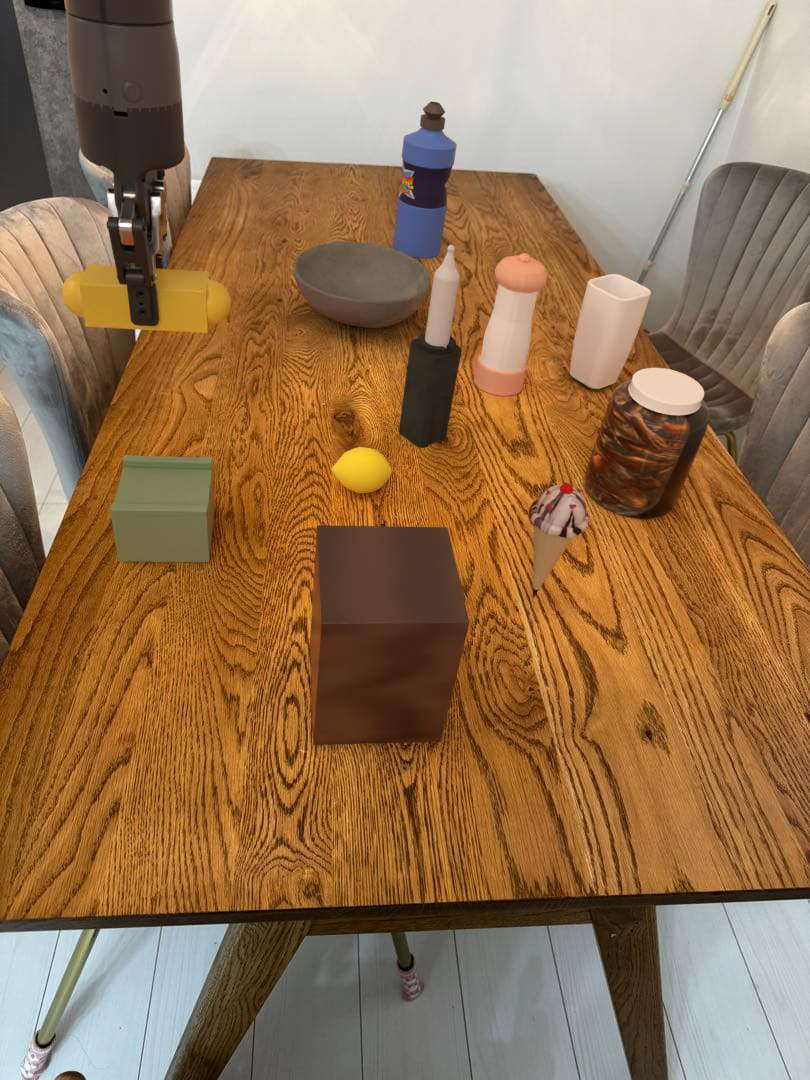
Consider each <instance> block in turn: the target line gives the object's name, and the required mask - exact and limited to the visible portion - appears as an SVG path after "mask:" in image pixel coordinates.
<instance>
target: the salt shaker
mask: <svg viewBox="0 0 810 1080" xmlns="http://www.w3.org/2000/svg"><path fill="white" fill-rule="evenodd" d="M494 277H495V280H496V282H497V289H496V294H495V300H494V304H493V309H492V312H491V314H490V317H489V320H488V323H487V326H486V328H485V331H484V334H483V340H482V345H481V352H480V354H478V356H477V360H476V365H475V370H474V375H473V380H472V381H473V383H474V385H475V386H476V387H477V388H478V389H479V390H482V391H483V392H484V393H488V394H490V395H494V396H499V397H502V396H503V397H508V396H515V395H517V394H519V393H520V392H521V391H522V390H523V387H524V383H525V378H526V374H527V370H528V363H527V358H528V356H529V351H530V348H531V341H532V326H533V316H534V312H535V307H536V303H537V298H538V294H539V291H541V290H542V289H543V288H544V286H546V284H547V282H548V272H547V269H546V266H544V264H543V263H542V262H540V261H539V260H537V259H535V258H533V257H531V255H530V254H529V253H526V252H524V253H520V254H518V255H509V256H505V257H503V258H502V259H501V260H499V262H498V263H497V264H496V267H495V269H494Z"/></svg>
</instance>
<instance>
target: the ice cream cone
mask: <svg viewBox="0 0 810 1080" xmlns="http://www.w3.org/2000/svg"><path fill="white" fill-rule="evenodd" d="M528 517H529V519H530V522H531V523H532V524H533V561H532V564H533V565H532V568H533V569H532V598H533V599H534V598H535V596H536V595H537V593H538V592H539V591H540V589H541V587H542V586H543V584H544V582H545V581H546V579H547V578H548V576H549V575H550V573H551V572H552V571H553V569H554V567H555V566H556V565H557V563H558V562H559V560H560V558H561V557H562V555H563V553H564V552H565V550H566V549H567V548H568V546H569V544H570V543H571V541H572V540H573V539H574V538H576V537H577V536H580V535H581V534H582V533H583V532H584V530H586V528H587V527H588V525H589V523H590V522H589V521H590V517H589V513H588V511H587V503H586V499H585V497H584V496H583V494H582V490H581V488H579V487H578V488H576V487H574V486H573V485H572V484H571V483H569V482H564V483H563V484H562V483H557V484H555V485H552V486H550V487H548V488H546V489H545V490H544V491H543V492H542V493H541V495H540V496H539V497H538V498H536V499H535V500H533V502H531V505H530V506H529V510H528Z"/></svg>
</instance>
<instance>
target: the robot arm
mask: <svg viewBox="0 0 810 1080" xmlns="http://www.w3.org/2000/svg"><path fill="white" fill-rule="evenodd" d="M63 1H64V8H65V18H66V50H67V52H66V53H67V60H68V61H67V62H68V67H69V74H70V75H69V76H70V82H71V89H72V98H73V104H74V112H75V119H76V126H77V134H78V141H79V148H80V152H81V154H82V156H83V157H84V158H85V159H86V160H87V161H88V162H90V163H92V164H94V165H96V166H98V167H103V168H106V169H107V170H109V171H110V172H111V173H112V174H113V176H112V187H110V186H109V187H107V189H106V198H107V200H106V201H107V209H108V211H109V212H110V213H111V216H110V215H109V216H108V217H107V221H106V229H107V231H108V235H109V239H110V245H111V250H112V255H113V260H114V266H116V270H117V279H118V280H119V284H122V285H126V284H127V291H128V300H129V309H130V318H131V322H132V323H133V324H135V325H141V326H156V325H157V324H158V321H159V310H158V299H157V286H156V280H158V274H157V273H156V268H160V269H164V261H163V257H164V256H165V253H166V245H165V242H166V240H167V238H168V230H167V228H168V218H167V210H166V209H167V208H166V203H167V196H168V190H167V182H166V180H165V177H166V170H170V169H172V168H174V167H177V166H179V165H181V163H182V162H183V161H184V159H185V157H186V146H185V143H186V142H185V127H184V113H183V112H184V111H183V95H182V93H183V92H182V78H181V77H182V75H181V60H180V54H179V46H178V41H177V35H176V30H175V29H176V28H175V20H174V3H173V0H63ZM131 264H134V266H132V265H131ZM141 267H142V268H141Z"/></svg>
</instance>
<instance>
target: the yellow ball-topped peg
mask: <svg viewBox="0 0 810 1080" xmlns="http://www.w3.org/2000/svg"><path fill="white" fill-rule="evenodd" d="M141 268H142V267H141ZM156 273H157V274H158V280H156V286H157V299H158V310H159V321H158V324H157V325H156V326H141V325H135V324H133V323H132V322H131V318H130V309H129V300H128V291H127V284H126V285H122V284H119V280H118V279H117V270H116V265H113V264H96V263H87V265H86V267H85V269H84V270H83V271H82V270H80V271H77V272H73V273H71V274H70V275H69V276H68V277H67V278H66V279H65V280H64V282H63V284H62V286H61V287H62V288H61V297H62V301H63V304H64V305H65V307H66V309H68V311H69V312H70V313H72V314H73V315H75V316H77V317H79V318H82V319H84V326H85V327H86V328H104V329H122V330H123V329H124V330H138V331H139V330H140V331H157V332H159V331H160V332H175V333H176V332H178V333H195V334H196V333H197V334H208V333H209V330H210V326H215V325H219V324H221V323H222V322H224V321H225V320H226V319H228V316H229V315H230V313H231V310H232V297H231V294H230V293H229V291H228V289H227V288H226V287H225V285H223V284H222V283H221V282H219V281H217V280H215V279H211V276H210V271H206V270H205V271H203V270H190V269H189V270H188V269H174V268H173V269H172V268H163V269H160V268H156Z"/></svg>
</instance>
